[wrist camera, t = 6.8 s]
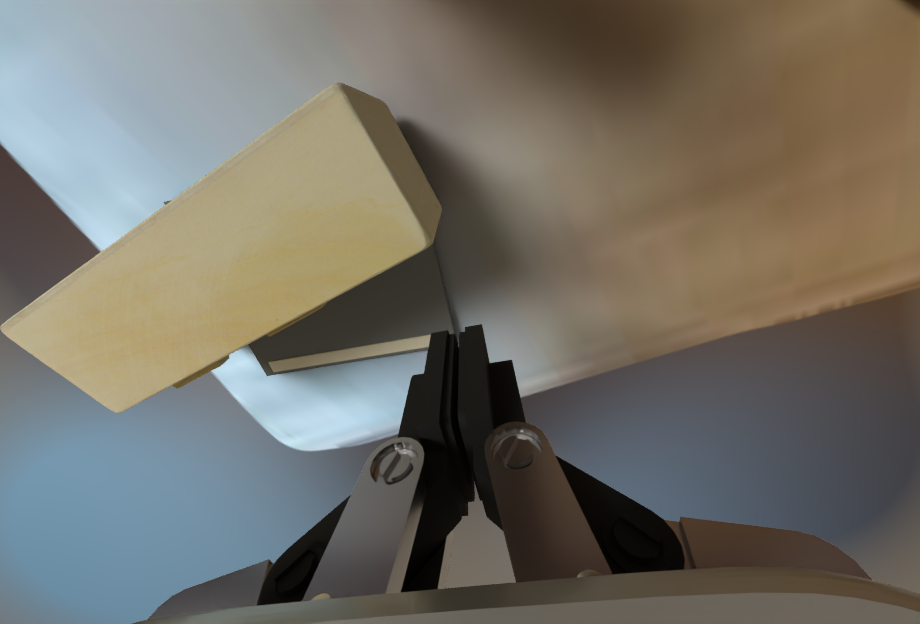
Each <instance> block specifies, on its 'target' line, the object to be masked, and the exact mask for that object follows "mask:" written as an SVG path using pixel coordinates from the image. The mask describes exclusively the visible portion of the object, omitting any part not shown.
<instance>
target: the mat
mask: <svg viewBox="0 0 920 624" xmlns="http://www.w3.org/2000/svg"><path fill="white" fill-rule="evenodd" d="M409 147H410V146H409ZM410 149H411V147H410ZM171 201H172V200H171ZM169 202H170V201H167V202H164V204H165V205H166V204H168V203H169ZM446 330H448V331H449V334H454V333H455V335H456V332H455V328H454V324H453V320H452V316H451V312H450V308H449V304H448V299H447V295H446V291H445V287H444V283H443V279H442V275H441V271H440V266H439V262H438V258H437V254H436V250H435V246H434V242H433V244H432V245H431V246H429V247H428V248H427V249H425V250H423V251H422V252H420V253H418V254H416V255H414V256H412V257H410V258H408V259H407V260H405V261H403V262H401V263H399V264H398V265H396V266H394V267H392V268H390V269H388V270H386V271H384V272H382V273H380V274H378V275H376V276H374V277H373V278H371V279H369V280H367V281H365V282H363V283H361V284H359V285H358V286H356V287H354V288H352V289H350V290H348V291H346V292H344V293H343V294H341V295H339V296H337V297H335V298H333V299H331V300H330V301H328V302H327V303H326V304H325V305H324V306H323V307H322V308H321V309H319V310H317V311H316V312H314V313H312V314H310V315H308V316H306V317H305V318H303V319H301V320H299V321H297V322H296V323H294V324H292V325H290V326H288V327H286V328H285V329H283V330H281V331H279V332H277V333H276V334H274V335H272V336H267V335H264V336H262V337H261V338H259V339H257V340H255V341H253V342H251V343H250V344H248V345H249V346H250V348H251V350H252V351H253V353H254V355H255V356H256V358H257V360H258V362H259V363H260V365H261V367H262V368H263V370H264V372H265V373H266V375H267V376H270V375H276V374H282V373H288V372H294V371H300V370H306V369H312V368H318V367H325V366H331V365H337V364H343V363H349V362H355V361H361V360H367V359H373V358H379V357H386V356H392V355H398V354H404V353H410V352H416V351H422V350H428V348H429V342H430V337H431V333H434V332H440V331H446ZM456 338H457V336H456Z"/></svg>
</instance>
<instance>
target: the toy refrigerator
mask: <svg viewBox="0 0 920 624" xmlns="http://www.w3.org/2000/svg"><path fill="white" fill-rule="evenodd" d="M441 213H442V207H441V205H440V203H439V201H438V199H437V197H436V195H435V193H434V191H433V190H432V188H431V186H430V184H429V182H428V180H427V178H426V177H425V175H424V173H423V171H422V169H421V167H420V165H419V164H418V162H417V160H416V158H415V156H414V155H413V153H412V151H411V149H410V147H409V145H408V143H407V142H406V140H405V138H404V136H403V134H402V132H401V130H400V128H399V127H398V125H397V123H396V121H395V119H394V117H393V116H392V114H391V112H390V110H389V108H388V106H387V105H386V104H385V103H384V102H383V101H381V100H380V99H377V98H375V97H373V96H371V95H368V94H366V93H364V92H362V91H360V90H357V89H355V88H353V87H350V86H348V85H345V84H343V83H336V84H333V85H331V86H330V87H328V88H326V89H325V90H323V91H322V92H320V93H319V94H317V95H316V96H315V97H313V98H312V99H310V100H309V101H308V102H306V103H305V104H304V105H302V106H301V107H300V108H298V109H297V110H295V111H294V112H293V113H291V114H290V115H289V116H287V117H286V118H285V119H283V120H282V121H280V122H279V123H278V124H276V125H275V126H274V127H272V128H271V129H269V130H268V131H267V132H265V133H264V134H263V135H261V136H260V137H258V138H257V139H256V140H254V141H253V142H252V143H250V144H249V145H247V146H246V147H245V148H243V149H242V150H241V151H239V152H238V153H236V154H235V155H234V156H232V157H231V158H230V159H228V160H227V161H225V162H224V163H223V164H221V165H220V166H219V167H217V168H216V169H214V170H213V171H212V172H210V173H209V174H208V175H206V176H205V177H203V178H202V179H201V180H199V181H198V182H197V183H195V184H194V185H193V186H191V187H190V188H188V189H187V190H185V191H184V192H183V193H181V194H180V195H179V196H177V197H176V198H174V199H173V200H172V201H170V202H169V203H168V204H166V205H165V206H163V207H162V208H161V209H159V210H158V211H157V212H155V213H154V214H153V215H151V216H150V217H149V218H147V219H146V220H145V221H143V222H142V223H140V224H139V225H138V226H136V227H135V228H134V229H132V230H131V231H129V232H128V233H127V234H125V235H124V236H123V237H121V238H120V239H119V240H117V241H116V242H115V243H113V244H112V245H110V246H109V247H107V248H106V249H105V250H103V251H102V252H101V253H99V254H98V255H96V256H95V257H94V258H92V259H91V260H90V261H88V262H87V263H85V264H84V265H83V266H81V267H80V268H78V269H77V270H76V271H75V272H73V273H72V274H70V275H69V276H67V277H66V278H65V279H63V280H62V281H61V282H59V283H58V284H57V285H56V286H54V287H52V288H51V289H50V290H49V291H47V292H46V293H44V294H43V295H42V296H40V297H39V298H37V299H36V300H35V301H34V302H32V303H31V304H29V305H28V306H26V307H25V308H24V309H23V310H21V311H20V312H18V313H17V314H16V315H14V316H13V317H12V318H10V319H9V320H7V321H6V322H5V323H4V324H2V325H1V328H0V329H1V331H2V332H3V333H4V334H5V335H6V336H7V337H9V338H10V339H11V340H13V341H14V342H15V343H17V344H18V345H20V346H21V347H22V348H24V349H25V350H27V351H28V352H29V353H31V354H32V355H34V356H35V357H36V358H38V359H39V360H41V361H42V362H43V363H45V364H46V365H48V366H49V367H51V368H52V369H53V370H55V371H56V372H57V373H59V374H61V375H62V376H63V377H65V378H66V379H67V380H69V381H70V382H72V383H73V384H75V385H76V386H77V387H79V388H80V389H81V390H83V391H84V392H86V393H87V394H89V395H90V396H91V397H93V398H94V399H95V400H97V401H98V402H100V403H101V404H103V405H104V406H106V407H107V408H109V409H110V410H112V411H114V412H117V413H120V412H123V411H125V410H127V409H129V408H131V407H133V406H134V405H136V404H138V403H140V402H141V401H143V400H146V399H148V398H149V397H151V396H153V395H155V394H156V393H159V392H161V391H162V390H164V389H166V388H168V387H170V386H171V385H173V386H174V387H176V388H180V387H182V386H184V385H185V384H187V383H189V382H191V381H193V380H194V379H196V378H198V377H200V376H202V375H204V374H206V373H208V372H209V371H211V370H213V369H215V368H217V367H219V366H221V365H222V364H223V363H225V362H226V361H227V360H228V359H229V354H231V353H233V352H235V351H237V350H239V349H241V348H242V347H244V346H246V345H248V344H250V343H251V342H253V341H255V340H257V339H259V338H261V337H262V336H264V335H267V336H272V335H274V334H276V333H277V332H279V331H281V330H283V329H285V328H286V327H288V326H290V325H292V324H294V323H296V322H297V321H299V320H301V319H303V318H305V317H306V316H308V315H310V314H312V313H314V312H316V311H317V310H319V309H321V308H322V307H323V306H324V305H325V304H326V303H327V302H328V301H330V300H331V299H333V298H335V297H337V296H339V295H341V294H343V293H344V292H346V291H348V290H350V289H352V288H354V287H356V286H358V285H359V284H361V283H363V282H365V281H367V280H369V279H371V278H373V277H374V276H376V275H378V274H380V273H382V272H384V271H386V270H388V269H390V268H392V267H394V266H396V265H398V264H399V263H401V262H403V261H405V260H407V259H408V258H410V257H412V256H414V255H416V254H418V253H420V252H422V251H423V250H425V249H427V248H428V247H429V246H431V245H432V244H433V242H434V238H435V234H436V230H437V226H438V223H439V220H440V216H441Z"/></svg>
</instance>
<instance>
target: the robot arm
mask: <svg viewBox="0 0 920 624" xmlns="http://www.w3.org/2000/svg"><path fill="white" fill-rule="evenodd" d="M474 481H475V484H476V488H477V492H478V495H479V499H480V500H482V501H483V505H484V509H485V512H486V516H487V517H488V518H489V519H490V520H491V521H492V522H493V523H495V524H496V525H497V526H498V527H499V528H500V529H502V530H503V531H504V535H505V539H506V543H507V548H508V551H509V556H510V560H511V564H512V568H513V572H514V576H515V580H516V583H505V584H492V585H482V586H469V587H458V588H448V589H447V588H446V582H447V576H448V570H449V563H450V557H451V551H452V545H453V529H454V527H455V526H456V525H457V524H458V523H459V522H460V521H461V519H462V516H468V502H472V501H474V499H475V497H474V496H475V492H474ZM445 588H446V589H445ZM133 624H920V594H919V593H916V592H912V591H909V590H906V589H903V588H899V587H896V586H893V585H890V584H886V583H881V582H877V581H873V580H872V579H871V578H870V577H869V576H868V575H867V573H866V572H865V571H864V570H863V569H862V568H861V567H860V566H859V565H858V563H857V562H856V561H855V560H854V559H852V558H851V557H850V556H848V555H847V554H845V553H844V552H843V551H842V550H840V549H839V548H838V547H836V546H834V545H832V544H831V543H829V542H827V541H824V540H822V539H821V538H819V537H816V536H814V535H810V534H806V533H802V532H799V531H792V530H784V529H776V528H768V527H760V526H752V525H743V524H735V523H727V522H718V521H711V520H702V519H694V518H686V517H680V521H679V522H676V521H668V520H663V519H662V518H660V517H659V516H658V515H656V514H655V513H654V512H652V511H651V510H649V509H647V508H645V507H644V506H642V505H640V504H639V503H637V502H635V501H634V500H632V499H630V498H628V497H627V496H625V495H623V494H621V493H620V492H618V491H616V490H614V489H613V488H611V487H609V486H607V485H606V484H604V483H602V482H601V481H599V480H597V479H595V478H594V477H592V476H590V475H588V474H587V473H585V472H583V471H581V470H580V469H578V468H576V467H574V466H573V465H571V464H569V463H568V462H566V461H564V460H562V459H561V458H559V457H557V456H555V454H554V452H553V450H552V448H551V446H550V444H549V442H548V439H547V438H546V437H545V435H544V433H543V432H542V431H541V430H540V429H538V428H537V427H536V426H534V425H531V424H529V423H526V422H525V417H524V413H523V408H522V403H521V399H520V394H519V390H518V385H517V381H516V376H515V372H514V367H513V363H512V360H507V361H501V362H495V363H489V358H488V353H487V348H486V343H485V338H484V333H483V328H482V324H481V325H475V326H469V327H465V332H460V334H459V346H458V342H457V338H456V335H455V333H454V334H449V331H448V330H446V331H440V332H434V333H431V337H430V342H429V348H428V354H427V360H426V365H425V371H424V374H419V375H413V376H412V378H411V381H410V386H409V390H408V395H407V399H406V404H405V408H404V412H403V417H402V421H401V426H400V430H399V435H398V438H394V439H392V440H389V441H387V442H385V443H383V444H382V445H380V446H379V447H378V448H377V449H376V450H375V451H374V452H373V453H372V454H371V455H370V457H369V458H368V460H367V462H366V463H365V466H364V468H363V470H362V472H361V474H360V476H359V479H358V481H357V483H356V485H355V487H354V489H353V492H352V494H351V495H350V496H349V497H348V498H347V499H346V500H344V501H343V502H342V503H341V504H340V505H338V506H337V507H336V508H335V509H334V510H333V511H331V513H329V514H328V515H327V516H326V517H324V518H323V519H322V520H321V521H320V522H319V523H317V524H316V525H315V526H314V527H313V528H312V529H310V530H309V531H308V532H307V533H306V534H305V535H303V536H302V537H301V538H300V539H299V540H298V541H297V542H295V543H294V544H293V545H292V546H291V547H290V548H288V549H287V550H286V551H285V552H284V553H283V554H282V555H281V556H280V557H279V558H278V559H277V561H276V562H275V563H272V562H271V561H270V560H269V559H268V560H265V561H263V562H260V563H257V564H254V565H252V566H249V567H246V568H243V569H240V570H238V571H235V572H232V573H229V574H226V575H223V576H221V577H218V578H215V579H212V580H210V581H207V582H204V583H201V584H198V585H196V586H193V587H190V588H187V589H185V590H183V591H181V592H179V593H177V594H175V595H173V596H171V597H170V598H169V599H168V600H167V601H165V602H164V603H163V604H162V605H161V606H159V607H158V608H157V609H156V611H155V612H154V613H153V614H152V615H151V616H150V617H149V618H148V619H147V620H144V621H140V622H136V623H133Z"/></svg>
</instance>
